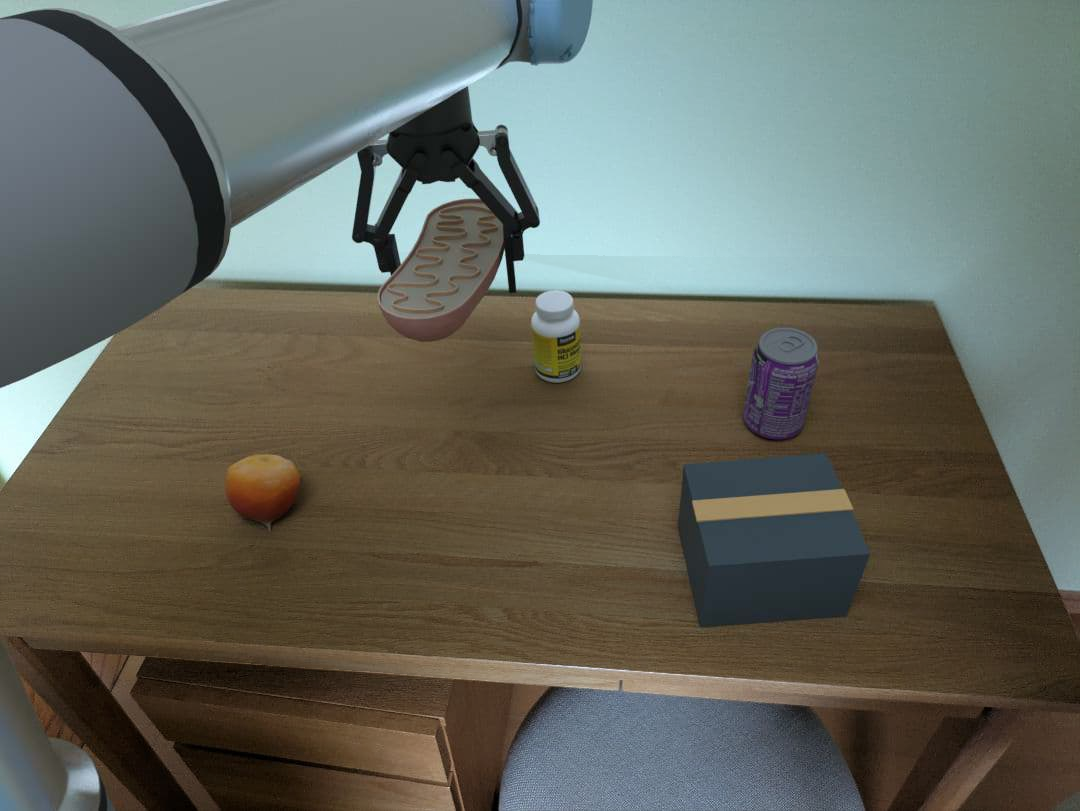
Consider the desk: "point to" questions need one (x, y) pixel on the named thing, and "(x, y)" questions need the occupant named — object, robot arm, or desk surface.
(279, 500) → the fruit
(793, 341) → the beverage can
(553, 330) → the pill bottle
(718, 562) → the dark blue box
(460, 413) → the desk surface
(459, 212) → the anatomical model
